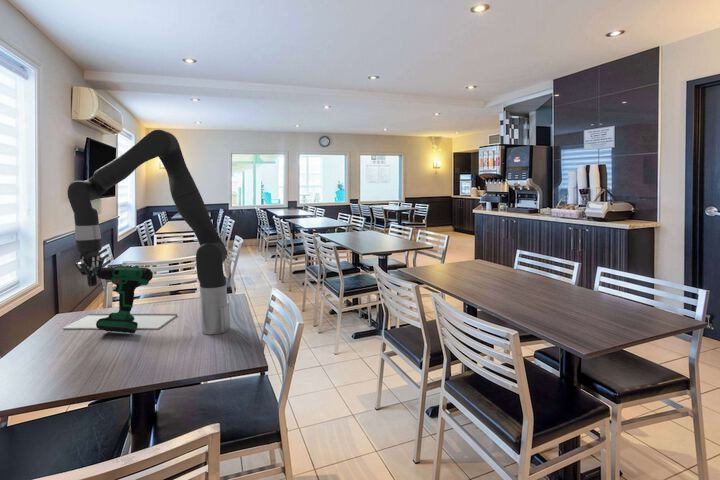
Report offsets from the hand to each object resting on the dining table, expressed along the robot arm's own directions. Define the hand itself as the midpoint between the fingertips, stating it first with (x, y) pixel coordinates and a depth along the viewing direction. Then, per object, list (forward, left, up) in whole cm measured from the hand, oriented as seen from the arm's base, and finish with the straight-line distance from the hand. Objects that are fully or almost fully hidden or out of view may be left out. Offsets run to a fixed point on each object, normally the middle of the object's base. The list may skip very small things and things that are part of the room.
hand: (92, 285), depth 148 cm
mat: (-2, -13, -18) cm, 22 cm away
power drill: (0, 0, -17) cm, 17 cm away
